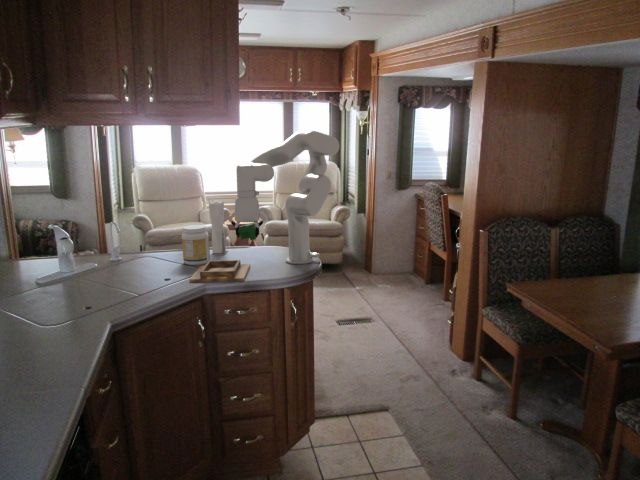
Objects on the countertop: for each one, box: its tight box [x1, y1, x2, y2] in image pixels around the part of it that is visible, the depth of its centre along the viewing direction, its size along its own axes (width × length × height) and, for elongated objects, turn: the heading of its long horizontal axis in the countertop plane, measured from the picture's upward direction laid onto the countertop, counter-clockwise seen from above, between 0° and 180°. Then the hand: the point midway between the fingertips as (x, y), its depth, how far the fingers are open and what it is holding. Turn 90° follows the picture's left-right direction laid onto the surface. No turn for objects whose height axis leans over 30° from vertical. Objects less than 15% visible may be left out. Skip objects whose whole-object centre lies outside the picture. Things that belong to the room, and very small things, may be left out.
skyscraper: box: [207, 197, 229, 255], centre depth 246 cm, size 8×8×28 cm
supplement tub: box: [181, 224, 211, 266], centre depth 229 cm, size 12×12×17 cm
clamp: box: [238, 222, 257, 241], centre depth 207 cm, size 12×6×9 cm, turn 177°
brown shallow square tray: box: [189, 259, 251, 283], centre depth 210 cm, size 22×22×4 cm
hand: (247, 236), depth 208 cm, fingers closed on clamp, 7 cm apart
